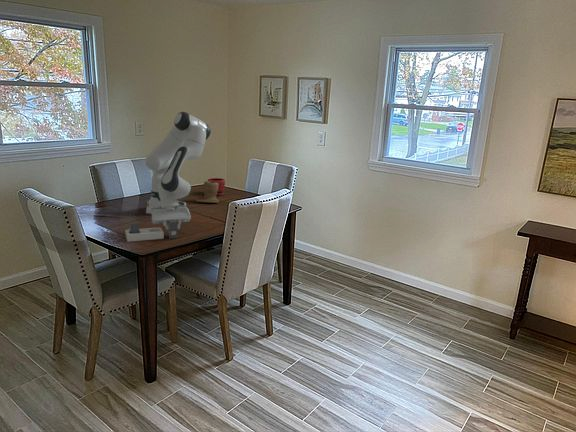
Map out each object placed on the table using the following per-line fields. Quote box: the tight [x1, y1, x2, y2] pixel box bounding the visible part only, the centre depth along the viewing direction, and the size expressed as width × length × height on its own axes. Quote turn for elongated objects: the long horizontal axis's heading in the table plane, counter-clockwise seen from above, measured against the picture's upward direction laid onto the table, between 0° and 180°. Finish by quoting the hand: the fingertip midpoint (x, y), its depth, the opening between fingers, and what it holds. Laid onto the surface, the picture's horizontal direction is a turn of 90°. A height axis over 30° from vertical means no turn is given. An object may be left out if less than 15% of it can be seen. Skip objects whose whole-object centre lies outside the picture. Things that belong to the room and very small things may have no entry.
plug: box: [168, 220, 179, 240], centre depth 230 cm, size 3×4×9 cm
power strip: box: [125, 221, 165, 243], centre depth 231 cm, size 19×18×8 cm
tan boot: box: [196, 180, 220, 204], centre depth 305 cm, size 15×12×15 cm
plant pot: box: [207, 177, 226, 197], centre depth 329 cm, size 13×13×12 cm
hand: (173, 229), depth 229 cm, fingers closed on plug, 4 cm apart
